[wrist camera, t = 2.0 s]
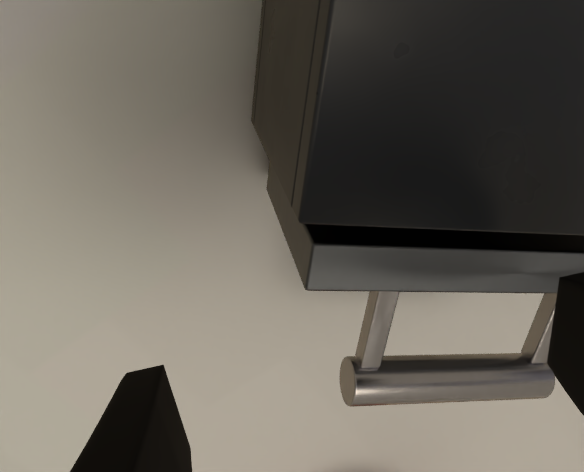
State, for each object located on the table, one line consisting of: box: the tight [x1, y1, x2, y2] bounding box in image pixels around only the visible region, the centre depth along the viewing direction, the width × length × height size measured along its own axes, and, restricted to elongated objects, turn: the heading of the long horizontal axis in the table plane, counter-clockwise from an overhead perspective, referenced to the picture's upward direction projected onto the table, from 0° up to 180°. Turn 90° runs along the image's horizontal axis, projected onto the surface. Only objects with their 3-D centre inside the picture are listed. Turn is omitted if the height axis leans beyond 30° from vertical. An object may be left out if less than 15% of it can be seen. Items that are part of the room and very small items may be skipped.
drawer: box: [267, 162, 584, 406], centre depth 13 cm, size 18×11×6 cm, turn 172°
